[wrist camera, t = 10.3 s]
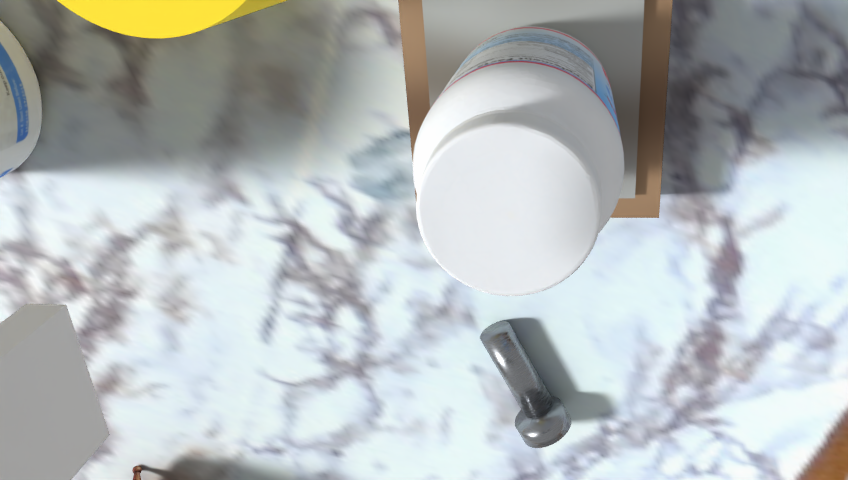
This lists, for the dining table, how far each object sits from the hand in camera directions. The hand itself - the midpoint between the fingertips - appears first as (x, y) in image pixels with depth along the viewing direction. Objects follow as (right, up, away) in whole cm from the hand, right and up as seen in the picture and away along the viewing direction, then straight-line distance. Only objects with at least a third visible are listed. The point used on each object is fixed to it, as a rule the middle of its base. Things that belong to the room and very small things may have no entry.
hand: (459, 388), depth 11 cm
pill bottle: (+4, +8, +17) cm, 19 cm away
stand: (+4, +9, +19) cm, 21 cm away
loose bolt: (+4, -4, +25) cm, 26 cm away
